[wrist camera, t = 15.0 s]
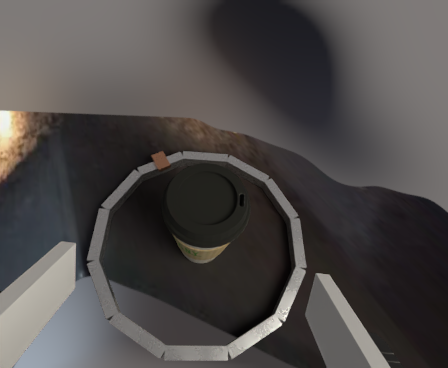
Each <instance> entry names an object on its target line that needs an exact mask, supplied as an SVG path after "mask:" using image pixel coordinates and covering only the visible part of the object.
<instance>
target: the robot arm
mask: <svg viewBox="0 0 448 368" xmlns="http://www.w3.org/2000/svg"><path fill="white" fill-rule="evenodd" d="M75 260H76V243H70V242H62V241H61V242H60V243H59V244H57V245H56V246H55V247H54V248H53V249H52V250H50V251H49V252H48V253H47V254H46V255H45V256H43V257H42V258H41V259H40V260H39V261H38V262H36V263H35V264H34V265H33V266H32V267H31V268H29V269H28V270H27V271H26V272H25V273H23V274H22V275H21V276H20V277H19V278H18V279H16V280H15V281H14V282H13V283H12V284H11V285H9V286H8V287H7V288H6V289H5V290H4V291H0V368H12V367H13V366H14V364H15V363H16V362H17V361H18V359H19V358H20V357H21V356H22V354H23V353H24V352H25V351H26V349H27V348H28V347H29V345H30V344H31V343H32V342H33V340H34V339H35V338H36V337H37V335H38V334H39V333H40V332H41V330H42V329H43V328H44V327H45V325H46V324H47V323H48V322H49V320H50V319H51V318H52V316H53V315H54V314H55V313H56V311H57V310H58V309H59V308H60V306H61V305H62V304H63V302H64V301H65V300H66V299H67V297H68V296H69V295H70V294H71V292H72V291H73V290H74V289H75ZM305 316H306V318H307V321H308V323H309V325H310V328H311V330H312V333H313V335H314V337H315V340H316V342H317V345H318V347H319V349H320V352H321V354H322V357H323V359H324V361H325V364H326V366H327V368H404V367H403V366H402V364H400V361H399V360H398V359H397V357H396V356H395V355H394V353H393V352H392V350H391V349H390V347H389V346H388V344H387V343H386V342H385V341H384V340H383V339H381V338H380V337H379V336H378V335H377V334H376V333H369V332H367V331H366V330H365V328H364V327H363V325H362V324H361V322H360V320H359V319H358V317H357V316H356V314H355V313H354V311H353V310H352V308H351V307H350V305H349V304H348V302H347V301H346V299H345V298H344V296H343V295H342V293H341V292H340V290H339V289H338V287H337V286H336V284H335V283H334V281H333V280H332V278H331V277H330V275H327V274H319V273H316V275H315V279H314V283H313V286H312V290H311V294H310V298H309V302H308V305H307V309H306V313H305Z"/></svg>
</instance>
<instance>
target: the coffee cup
mask: <svg viewBox="0 0 448 368" xmlns="http://www.w3.org/2000/svg"><path fill="white" fill-rule="evenodd" d="M250 209H251V206H250V198H249V195H248V192H247V190H246V188H245V186H244V185H243V183H242V181H241V180H240V179H239V177H238V176H237V175H236V174H234V173H233V172H232V171H231V170H229V169H227V168H225V167H223V166H220V165H217V164H212V163H200V164H195V165H192V166H189V167H187V168H185V169H183V170H182V171H180V172H179V173H178V174H177V175H176V176H175V177H173V179H172V180H171V181H170V182H169V183H168V185H167V187H166V189H165V190H164V193H163V197H162V201H161V212H162V217H163V220H164V222H165V225H166V226H167V228H168V229H169V231H170V232H171V233H172V234H173V236H174V238H175V240H176V243H177V245H178V247H179V248H180V250H181V251H182V253H183V254H184V256H185V257H186V258H187V259H189V260H190V261H192V262H195V263H206V262H209V261H211V260H213V259H214V258H215V257H216V256H217V255H219V254H220V253H221V252H222V251H223V250H224V249H225V248H226V246H227V245H228V244H229V243H230V242H231V241H233V240H234V239H236V238H237V237H238V236H239V235H240V234H241V233H242V232H243V230H244V229H245V227H246V225H247V223H248V220H249V217H250Z"/></svg>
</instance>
